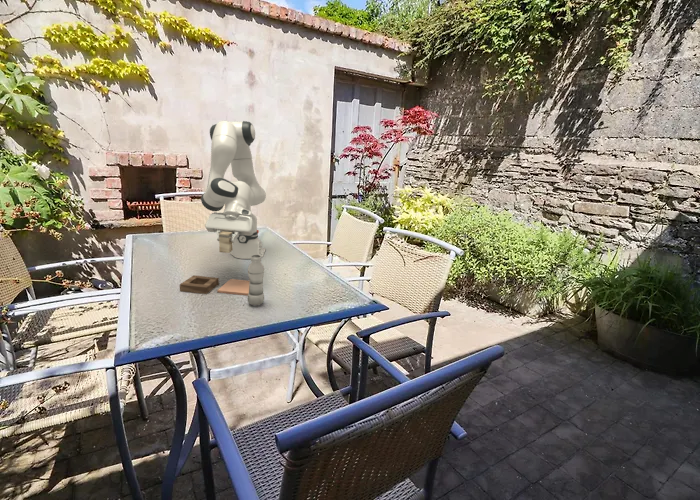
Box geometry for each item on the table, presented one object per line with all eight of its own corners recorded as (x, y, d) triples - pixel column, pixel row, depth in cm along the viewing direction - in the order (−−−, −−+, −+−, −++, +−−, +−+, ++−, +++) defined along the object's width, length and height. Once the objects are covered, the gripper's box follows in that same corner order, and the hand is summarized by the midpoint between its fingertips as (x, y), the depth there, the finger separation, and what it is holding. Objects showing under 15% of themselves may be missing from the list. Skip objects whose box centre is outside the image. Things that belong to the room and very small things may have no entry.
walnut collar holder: (193, 281, 157) (193, 275, 156) (218, 284, 157) (218, 277, 156) (179, 291, 146) (179, 284, 145) (206, 294, 146) (206, 287, 145)
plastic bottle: (247, 308, 136) (247, 259, 131) (247, 300, 142) (247, 253, 137) (264, 307, 138) (265, 258, 133) (263, 300, 144) (264, 253, 139)
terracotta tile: (230, 280, 161) (230, 278, 161) (260, 283, 161) (260, 281, 160) (217, 292, 148) (217, 290, 148) (249, 295, 147) (249, 293, 147)
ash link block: (223, 249, 151) (223, 231, 149) (232, 250, 151) (232, 232, 148) (219, 252, 147) (218, 233, 145) (228, 253, 147) (228, 234, 144)
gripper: (208, 207, 151) (198, 234, 145) (255, 212, 151) (247, 239, 144) (213, 216, 157) (203, 242, 150) (258, 220, 156) (250, 247, 149)
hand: (225, 241), depth 147 cm, fingers closed on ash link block, 4 cm apart
